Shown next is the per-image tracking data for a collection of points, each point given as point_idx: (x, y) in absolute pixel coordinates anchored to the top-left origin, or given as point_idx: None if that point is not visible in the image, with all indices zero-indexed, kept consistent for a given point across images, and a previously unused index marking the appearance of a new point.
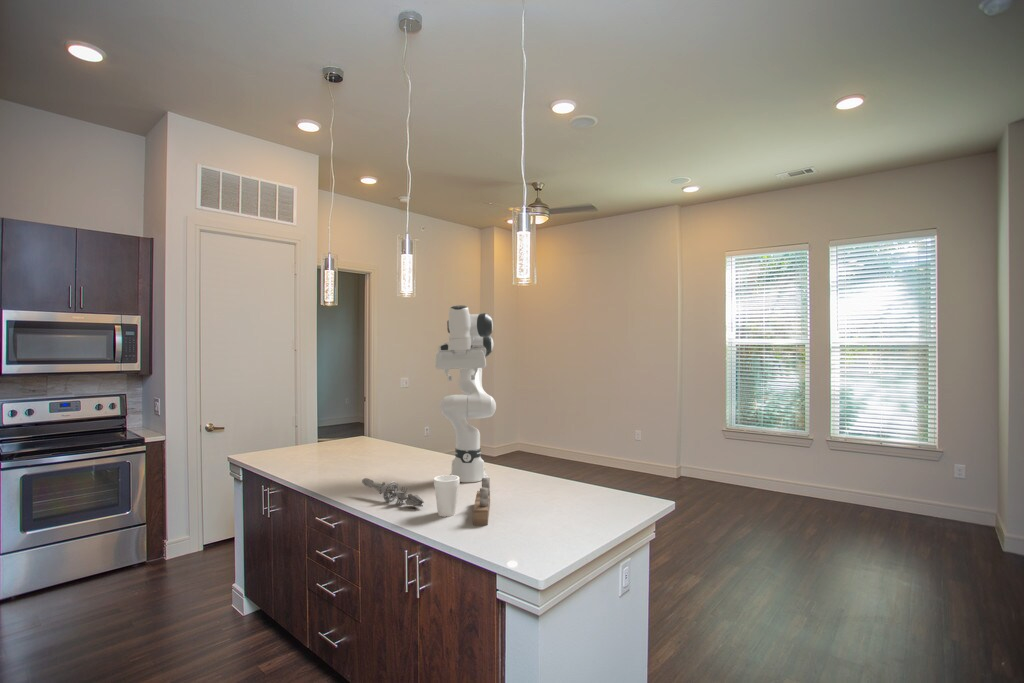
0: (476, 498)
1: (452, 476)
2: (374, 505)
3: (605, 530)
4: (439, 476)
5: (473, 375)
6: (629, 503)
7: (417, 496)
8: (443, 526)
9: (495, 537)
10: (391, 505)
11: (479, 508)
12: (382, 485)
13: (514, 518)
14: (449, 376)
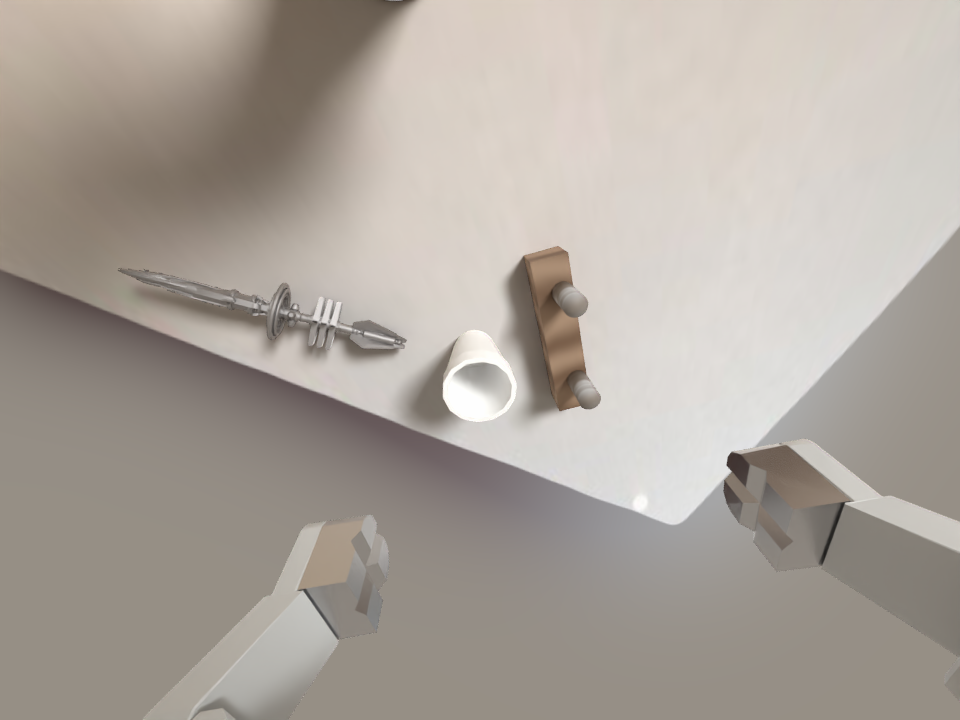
0: (546, 332)
1: (485, 361)
2: (271, 341)
3: (812, 353)
4: (450, 378)
5: (828, 563)
6: (957, 133)
7: (374, 325)
8: None
9: (605, 434)
10: None
11: (570, 397)
12: (232, 304)
13: (632, 337)
14: (347, 633)
